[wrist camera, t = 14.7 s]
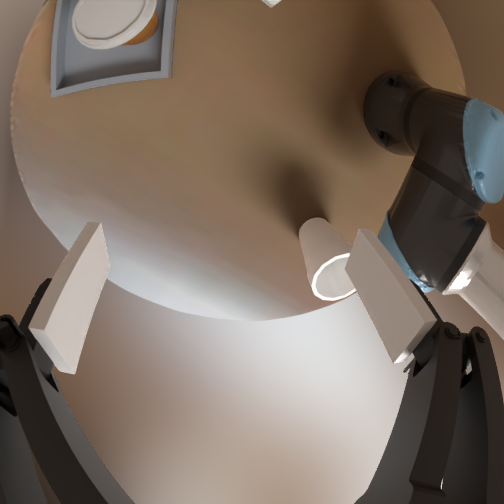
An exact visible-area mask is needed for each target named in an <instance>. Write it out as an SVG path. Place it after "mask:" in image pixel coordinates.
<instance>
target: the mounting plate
mask: <svg viewBox="0 0 504 504" xmlns="http://www.w3.org/2000/svg"><path fill="white" fill-rule="evenodd" d="M261 1H263V2H264V3H265V4H267V5H268V6H269V7H271V8H272V7H273V6H274V5H276V4H277V3H278V2H280V1H281V0H261Z"/></svg>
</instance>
